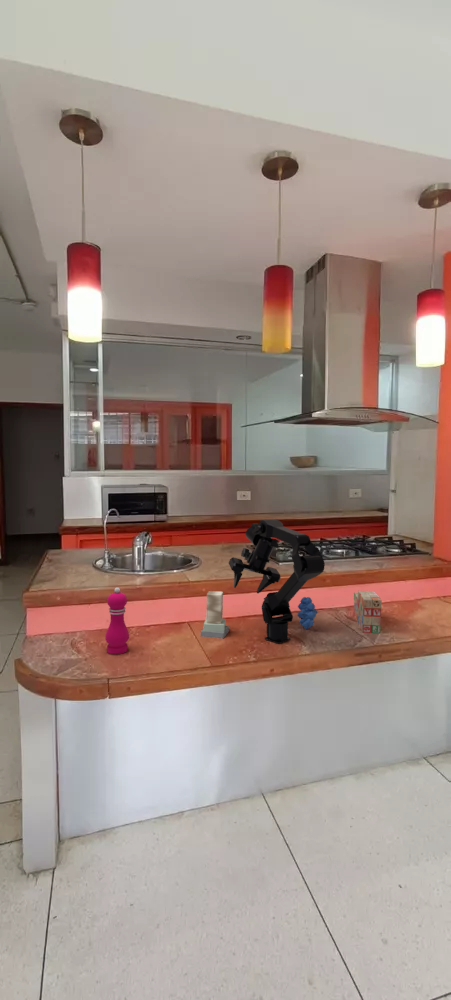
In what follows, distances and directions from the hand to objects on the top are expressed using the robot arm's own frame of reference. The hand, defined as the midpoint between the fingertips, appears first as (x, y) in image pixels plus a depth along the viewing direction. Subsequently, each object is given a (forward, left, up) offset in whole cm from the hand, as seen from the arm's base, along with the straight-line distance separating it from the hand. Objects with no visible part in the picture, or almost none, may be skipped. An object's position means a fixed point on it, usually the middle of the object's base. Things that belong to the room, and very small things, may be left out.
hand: (246, 590), depth 168 cm
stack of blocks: (-28, -37, -14) cm, 48 cm away
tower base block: (+4, +12, -15) cm, 19 cm away
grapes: (-16, -16, -14) cm, 27 cm away
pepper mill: (+14, +45, -14) cm, 49 cm away
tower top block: (+4, +12, -12) cm, 18 cm away
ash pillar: (+4, +12, -10) cm, 16 cm away
